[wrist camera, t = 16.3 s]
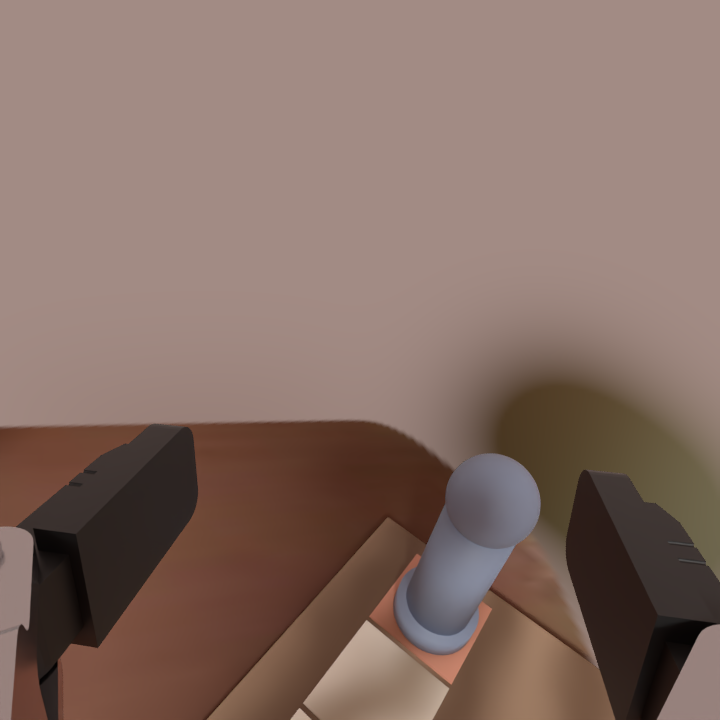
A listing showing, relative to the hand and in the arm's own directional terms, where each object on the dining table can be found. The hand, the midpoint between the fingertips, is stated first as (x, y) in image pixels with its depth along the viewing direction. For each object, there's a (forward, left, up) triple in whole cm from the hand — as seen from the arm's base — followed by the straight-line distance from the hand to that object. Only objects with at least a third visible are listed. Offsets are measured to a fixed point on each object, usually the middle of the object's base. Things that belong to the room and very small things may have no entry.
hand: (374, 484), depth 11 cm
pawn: (+1, +13, -22) cm, 25 cm away
